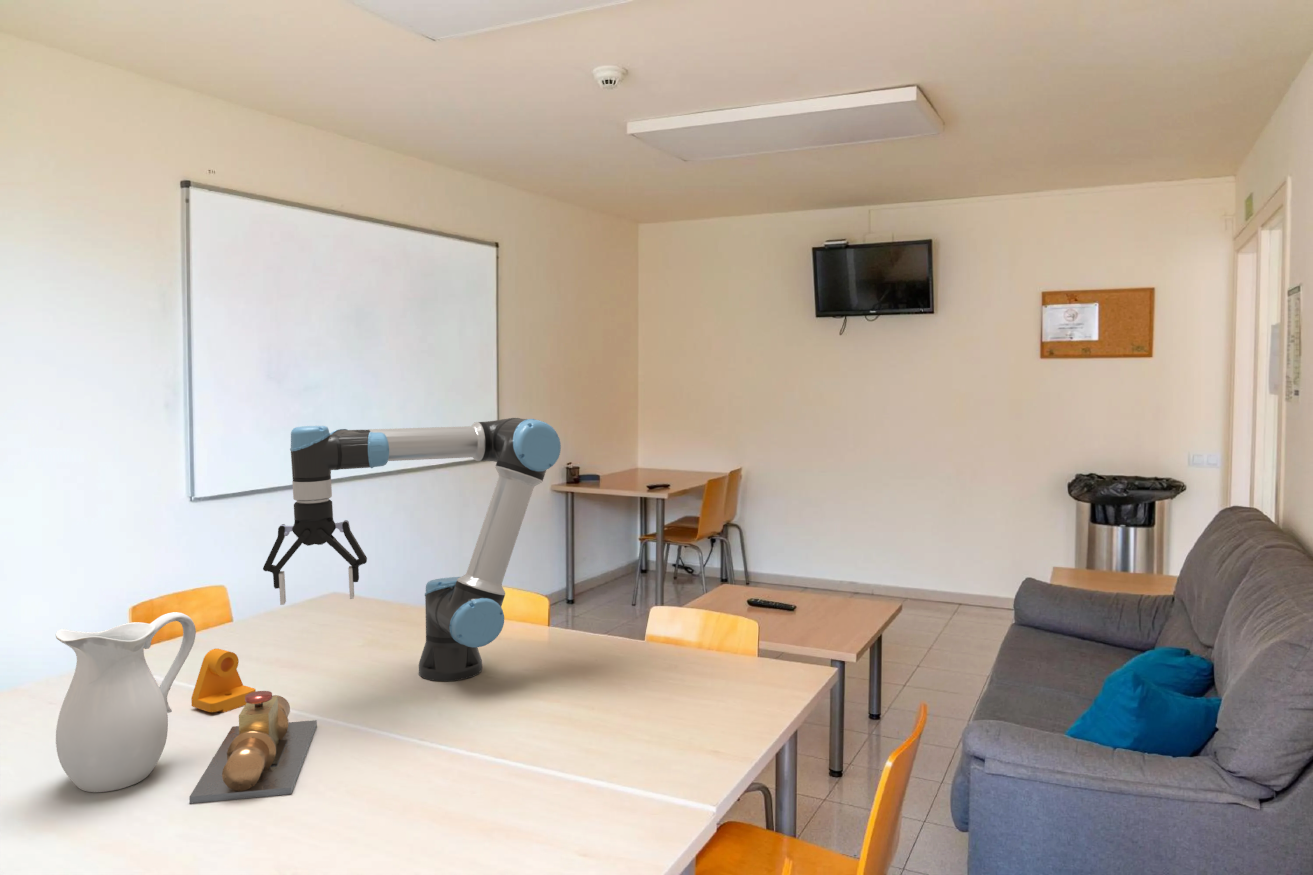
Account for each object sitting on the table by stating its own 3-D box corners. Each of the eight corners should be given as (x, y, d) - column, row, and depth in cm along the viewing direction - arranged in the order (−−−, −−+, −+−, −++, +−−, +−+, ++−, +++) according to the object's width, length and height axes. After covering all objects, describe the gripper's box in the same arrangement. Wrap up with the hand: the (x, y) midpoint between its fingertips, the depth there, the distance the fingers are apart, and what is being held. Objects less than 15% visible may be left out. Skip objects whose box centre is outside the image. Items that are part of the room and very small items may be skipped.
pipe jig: (232, 732, 179) (231, 692, 178) (316, 725, 183) (316, 686, 182) (189, 803, 149) (188, 755, 148) (291, 794, 153) (290, 747, 152)
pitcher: (87, 810, 146) (82, 644, 145) (38, 784, 155) (33, 628, 154) (224, 758, 167) (221, 612, 165) (174, 738, 175) (170, 599, 174)
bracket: (212, 716, 187) (210, 660, 187) (191, 709, 191) (190, 655, 190) (257, 701, 197) (256, 647, 196) (237, 695, 200) (236, 642, 200)
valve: (278, 741, 171) (277, 685, 170) (269, 761, 162) (268, 702, 161) (250, 744, 170) (249, 687, 169) (239, 763, 161) (238, 704, 160)
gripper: (376, 494, 192) (380, 590, 194) (250, 501, 185) (256, 601, 187) (375, 499, 185) (379, 599, 186) (244, 506, 178) (250, 610, 180)
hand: (317, 600), depth 187 cm, fingers open, 13 cm apart
